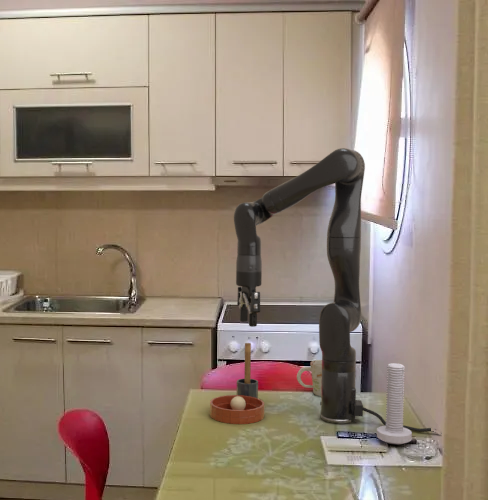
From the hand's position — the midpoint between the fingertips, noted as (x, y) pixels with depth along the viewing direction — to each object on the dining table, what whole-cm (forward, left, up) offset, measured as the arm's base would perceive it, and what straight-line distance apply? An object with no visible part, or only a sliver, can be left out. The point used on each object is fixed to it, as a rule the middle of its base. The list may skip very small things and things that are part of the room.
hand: (248, 323), depth 206 cm
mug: (-21, -15, -25) cm, 36 cm away
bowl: (+2, +13, -24) cm, 28 cm away
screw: (-39, +27, -25) cm, 53 cm away
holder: (0, 0, -24) cm, 24 cm away
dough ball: (+2, +10, -24) cm, 26 cm away
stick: (0, 0, -24) cm, 24 cm away
